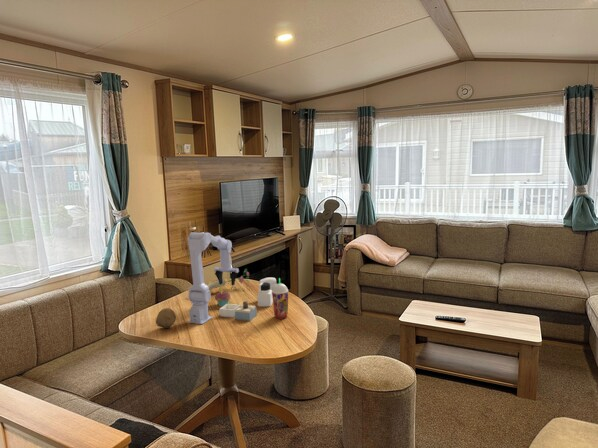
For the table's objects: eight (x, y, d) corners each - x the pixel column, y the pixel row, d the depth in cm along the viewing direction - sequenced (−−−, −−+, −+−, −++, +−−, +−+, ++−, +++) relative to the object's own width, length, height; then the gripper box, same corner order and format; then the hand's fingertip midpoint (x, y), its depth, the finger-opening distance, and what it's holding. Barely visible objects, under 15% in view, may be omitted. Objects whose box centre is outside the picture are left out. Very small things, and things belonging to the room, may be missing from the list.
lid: (249, 313, 200) (248, 305, 200) (235, 311, 203) (235, 304, 202) (255, 307, 207) (255, 300, 207) (242, 306, 210) (242, 299, 209)
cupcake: (229, 307, 221) (227, 286, 219) (213, 307, 221) (212, 286, 220) (232, 301, 230) (230, 281, 228) (217, 302, 230) (215, 281, 228)
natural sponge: (180, 328, 195) (178, 308, 193) (162, 334, 189) (160, 313, 187) (171, 323, 201) (170, 304, 200) (154, 328, 195) (152, 309, 194)
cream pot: (233, 317, 206) (233, 310, 205) (219, 316, 208) (219, 308, 208) (240, 312, 213) (240, 304, 213) (227, 310, 216) (226, 303, 215)
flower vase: (197, 307, 245) (248, 283, 262) (202, 307, 235) (255, 282, 251) (190, 288, 245) (241, 266, 262) (194, 288, 235) (247, 265, 251)
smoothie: (287, 320, 200) (285, 280, 197) (271, 319, 202) (269, 280, 199) (291, 313, 208) (289, 276, 205) (275, 313, 210) (273, 275, 207)
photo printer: (275, 296, 237) (274, 275, 235) (278, 298, 233) (277, 277, 231) (258, 299, 232) (257, 278, 231) (261, 301, 229) (260, 280, 227)
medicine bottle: (273, 302, 227) (272, 281, 225) (270, 306, 220) (269, 285, 218) (260, 302, 228) (259, 281, 226) (257, 306, 221) (256, 285, 219)
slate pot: (250, 321, 201) (249, 313, 200) (235, 319, 203) (235, 311, 203) (256, 315, 208) (256, 307, 208) (242, 313, 211) (242, 306, 210)
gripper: (240, 259, 229) (241, 283, 231) (217, 258, 233) (219, 281, 235) (234, 262, 222) (236, 286, 224) (211, 261, 227) (213, 285, 229)
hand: (227, 284), depth 229 cm, fingers open, 7 cm apart
